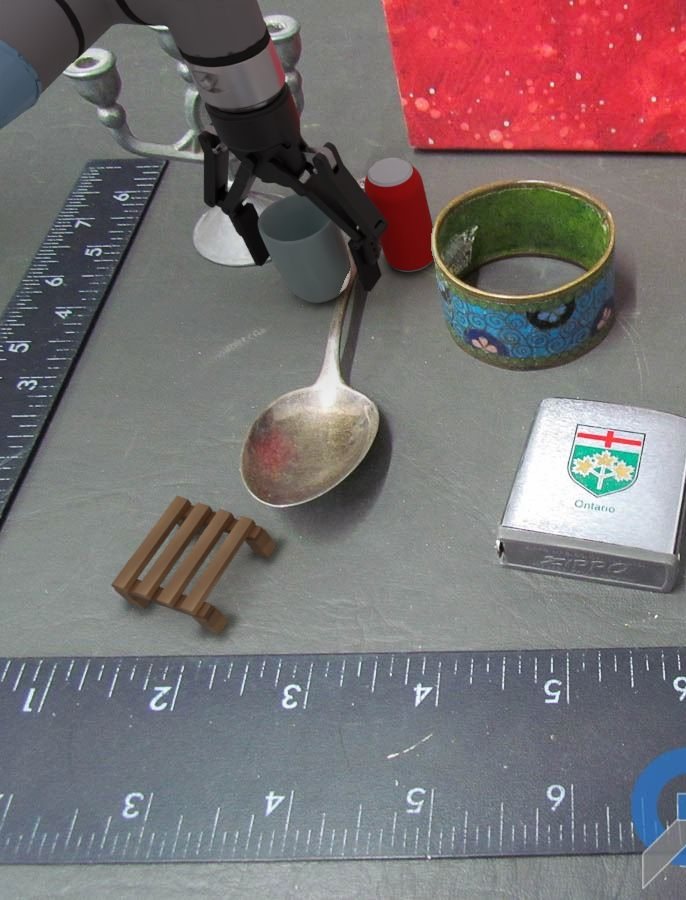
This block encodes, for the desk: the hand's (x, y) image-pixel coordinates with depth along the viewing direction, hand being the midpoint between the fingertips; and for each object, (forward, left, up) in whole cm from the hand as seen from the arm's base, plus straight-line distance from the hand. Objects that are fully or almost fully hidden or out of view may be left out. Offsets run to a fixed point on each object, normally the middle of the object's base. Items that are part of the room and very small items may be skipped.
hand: (318, 270), depth 91 cm
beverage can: (+7, +7, -3) cm, 11 cm away
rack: (+8, -35, -3) cm, 36 cm away
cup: (0, 0, -3) cm, 3 cm away
